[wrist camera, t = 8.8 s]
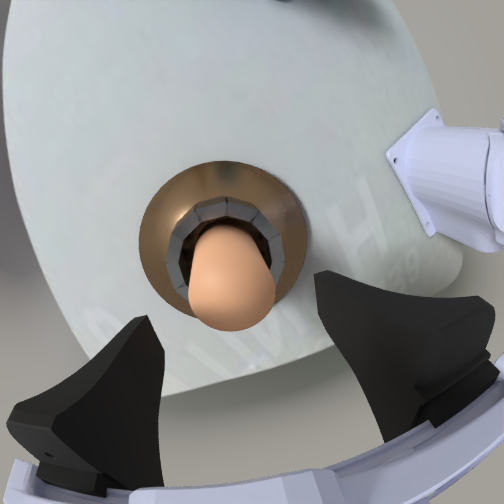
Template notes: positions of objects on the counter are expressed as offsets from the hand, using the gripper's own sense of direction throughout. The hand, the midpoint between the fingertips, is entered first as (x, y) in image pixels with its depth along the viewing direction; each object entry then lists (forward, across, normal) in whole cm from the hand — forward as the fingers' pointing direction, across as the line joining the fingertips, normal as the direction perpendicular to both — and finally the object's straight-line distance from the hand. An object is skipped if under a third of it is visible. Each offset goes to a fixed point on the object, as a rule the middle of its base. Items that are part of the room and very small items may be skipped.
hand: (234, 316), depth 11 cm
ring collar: (+9, 0, 0) cm, 9 cm away
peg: (+8, 0, 0) cm, 9 cm away
